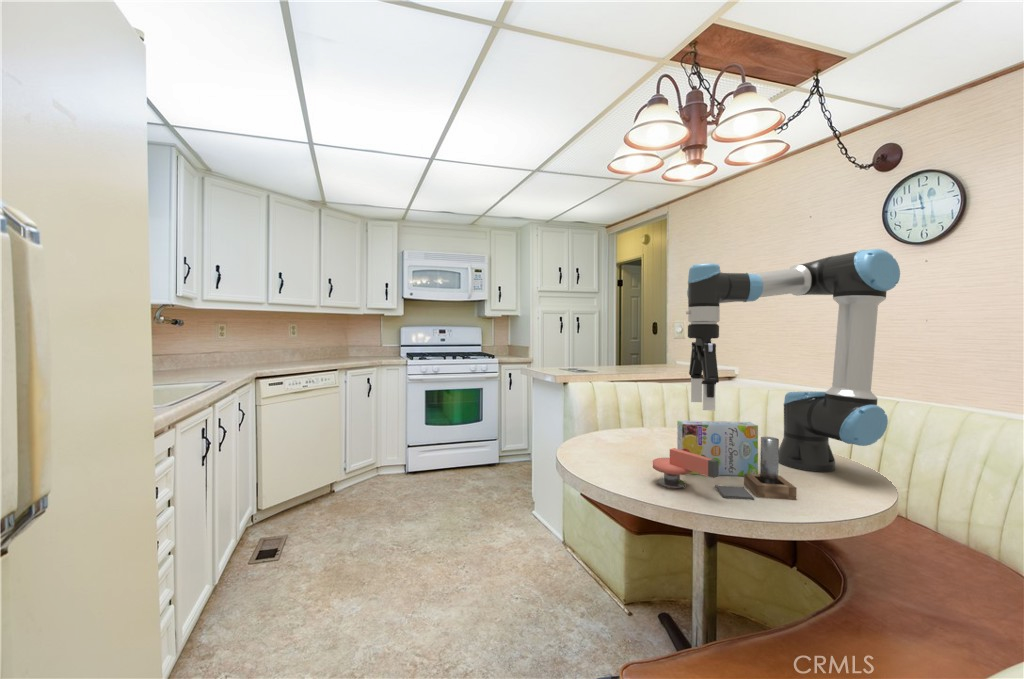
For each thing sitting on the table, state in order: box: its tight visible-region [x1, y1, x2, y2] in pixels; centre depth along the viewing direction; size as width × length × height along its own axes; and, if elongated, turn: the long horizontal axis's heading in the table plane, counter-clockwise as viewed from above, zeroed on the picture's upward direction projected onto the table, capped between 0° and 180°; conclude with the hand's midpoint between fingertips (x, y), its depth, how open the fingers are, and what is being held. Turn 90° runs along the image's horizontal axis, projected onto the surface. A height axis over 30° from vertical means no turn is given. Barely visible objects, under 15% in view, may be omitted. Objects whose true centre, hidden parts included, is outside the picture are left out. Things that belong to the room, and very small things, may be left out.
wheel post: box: [657, 473, 686, 490], centre depth 115 cm, size 7×7×4 cm
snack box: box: [676, 420, 759, 477], centre depth 125 cm, size 21×6×15 cm, turn 84°
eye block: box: [743, 473, 797, 501], centre depth 110 cm, size 9×9×3 cm
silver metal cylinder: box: [759, 436, 780, 484], centre depth 110 cm, size 4×4×14 cm
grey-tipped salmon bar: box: [652, 447, 720, 479], centre depth 112 cm, size 18×10×6 cm, turn 31°
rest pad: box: [714, 485, 755, 501], centre depth 109 cm, size 7×7×1 cm
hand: (702, 405), depth 111 cm, fingers open, 11 cm apart
